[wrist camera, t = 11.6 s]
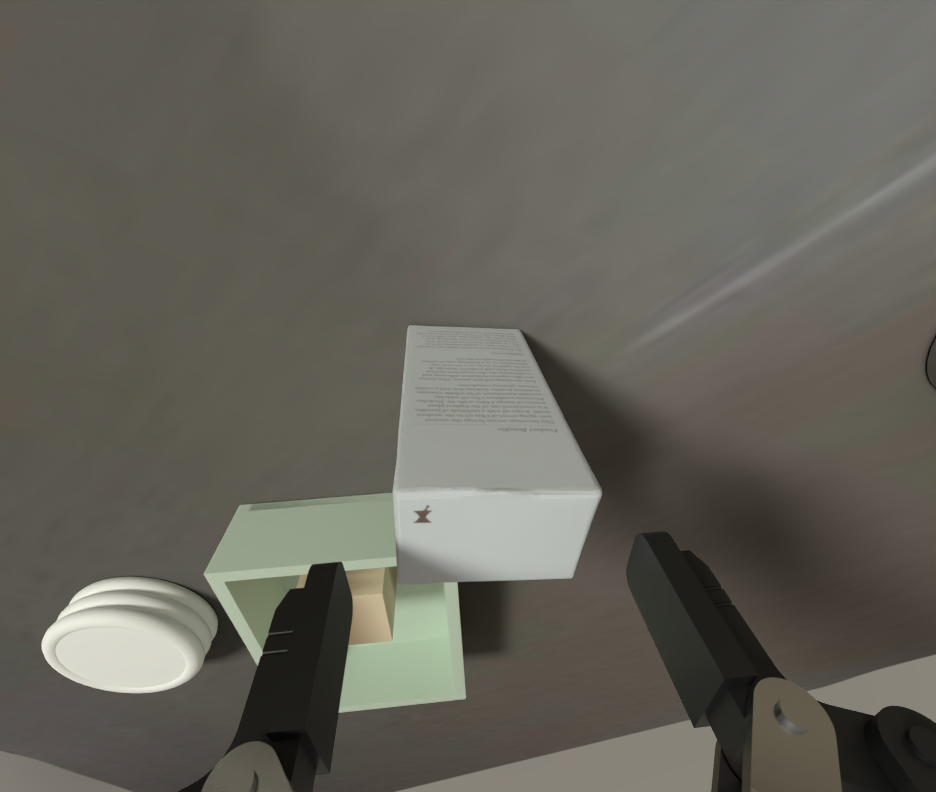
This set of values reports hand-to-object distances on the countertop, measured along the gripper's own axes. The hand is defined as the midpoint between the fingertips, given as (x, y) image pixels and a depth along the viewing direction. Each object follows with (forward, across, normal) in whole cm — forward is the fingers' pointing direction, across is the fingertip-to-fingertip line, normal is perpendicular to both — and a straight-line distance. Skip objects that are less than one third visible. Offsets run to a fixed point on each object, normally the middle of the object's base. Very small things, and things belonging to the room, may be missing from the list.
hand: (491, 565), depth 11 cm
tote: (+13, +8, +18) cm, 24 cm away
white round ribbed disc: (+14, +24, +20) cm, 35 cm away
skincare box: (+13, 0, 0) cm, 13 cm away
